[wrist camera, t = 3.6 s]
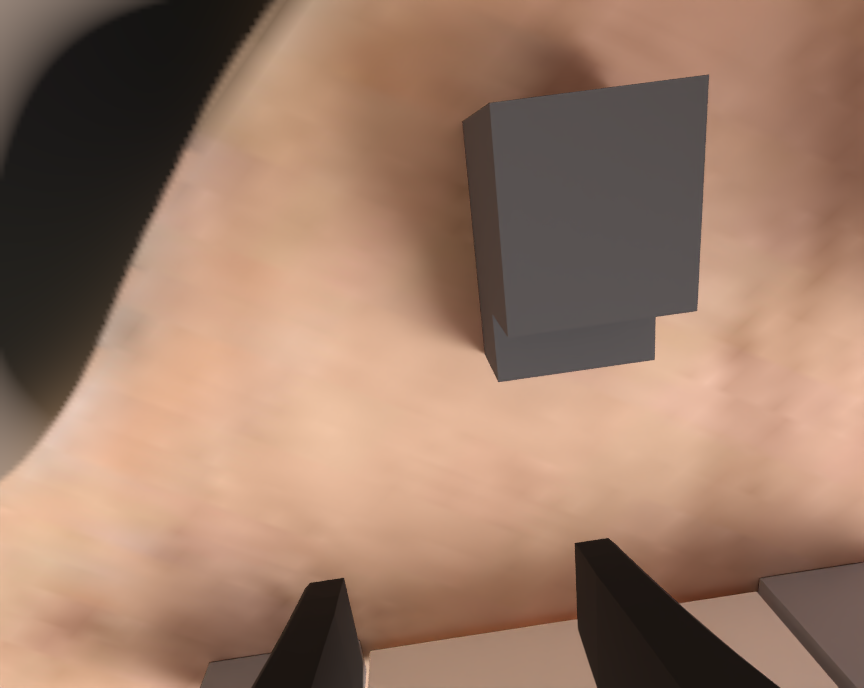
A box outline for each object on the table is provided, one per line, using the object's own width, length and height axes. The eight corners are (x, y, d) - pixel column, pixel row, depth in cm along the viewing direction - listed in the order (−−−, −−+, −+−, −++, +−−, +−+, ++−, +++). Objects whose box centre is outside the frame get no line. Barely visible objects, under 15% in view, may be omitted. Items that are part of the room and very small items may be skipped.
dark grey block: (617, 101, 15) (709, 74, 10) (618, 333, 17) (693, 388, 13) (461, 121, 14) (489, 102, 10) (483, 351, 17) (514, 414, 13)
